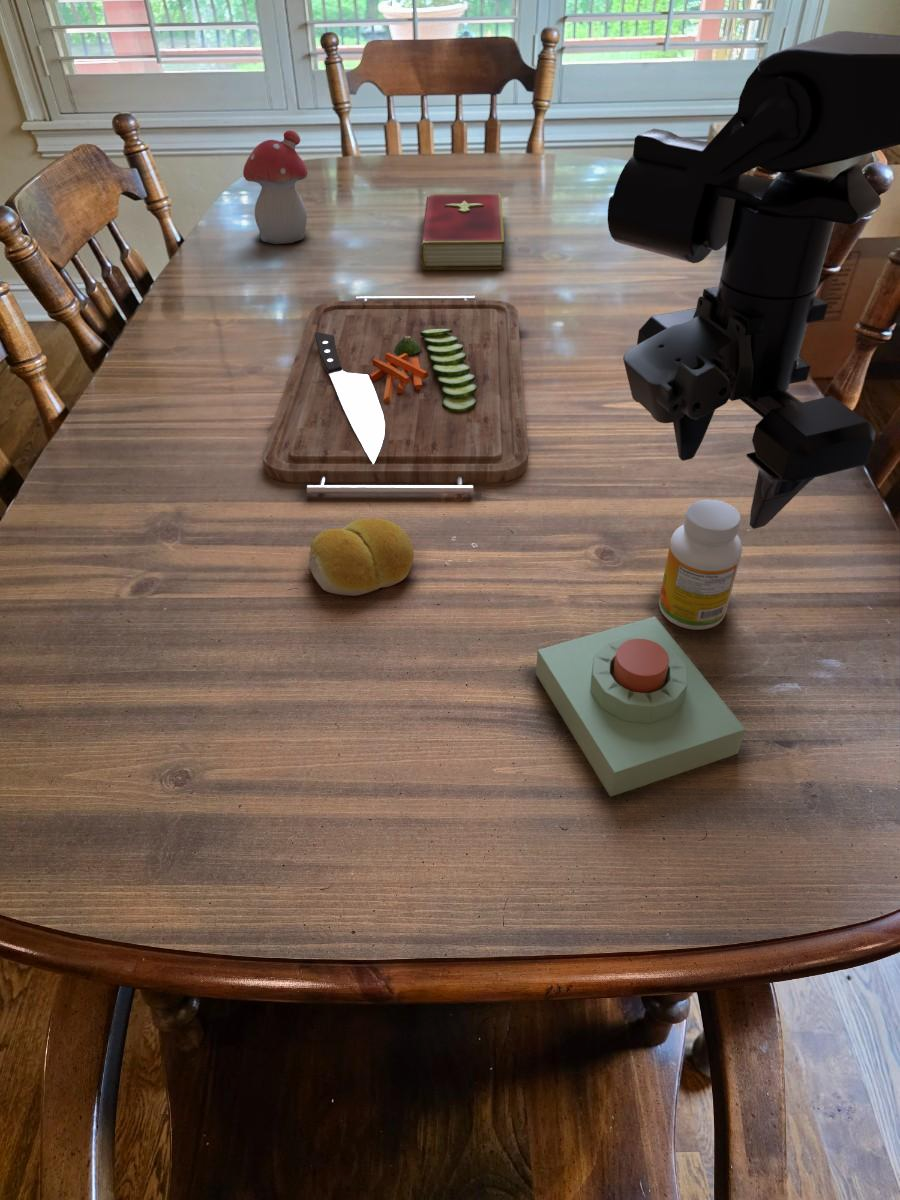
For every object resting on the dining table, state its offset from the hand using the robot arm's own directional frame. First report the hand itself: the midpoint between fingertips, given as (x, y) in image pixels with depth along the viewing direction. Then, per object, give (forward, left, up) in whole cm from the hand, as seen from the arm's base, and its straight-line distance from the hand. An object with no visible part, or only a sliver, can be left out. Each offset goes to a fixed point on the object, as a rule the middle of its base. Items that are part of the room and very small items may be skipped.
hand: (719, 490), depth 63 cm
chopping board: (+10, -45, -12) cm, 48 cm away
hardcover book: (-12, -84, -12) cm, 86 cm away
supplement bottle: (0, 0, -12) cm, 12 cm away
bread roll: (+24, -15, -12) cm, 31 cm away
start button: (+10, +8, -8) cm, 15 cm away
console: (+10, +8, -12) cm, 17 cm away
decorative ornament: (+13, -97, -12) cm, 99 cm away
